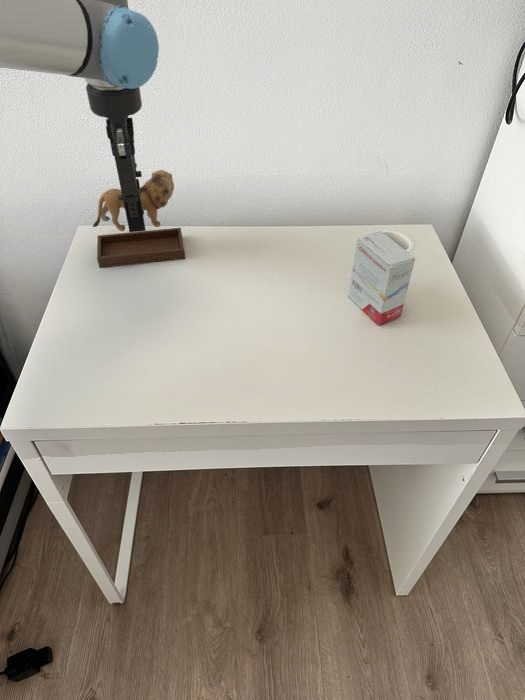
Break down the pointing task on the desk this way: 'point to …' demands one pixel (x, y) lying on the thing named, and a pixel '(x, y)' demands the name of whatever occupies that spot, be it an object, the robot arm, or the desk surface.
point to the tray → (140, 247)
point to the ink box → (380, 277)
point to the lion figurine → (151, 197)
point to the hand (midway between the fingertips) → (136, 221)
